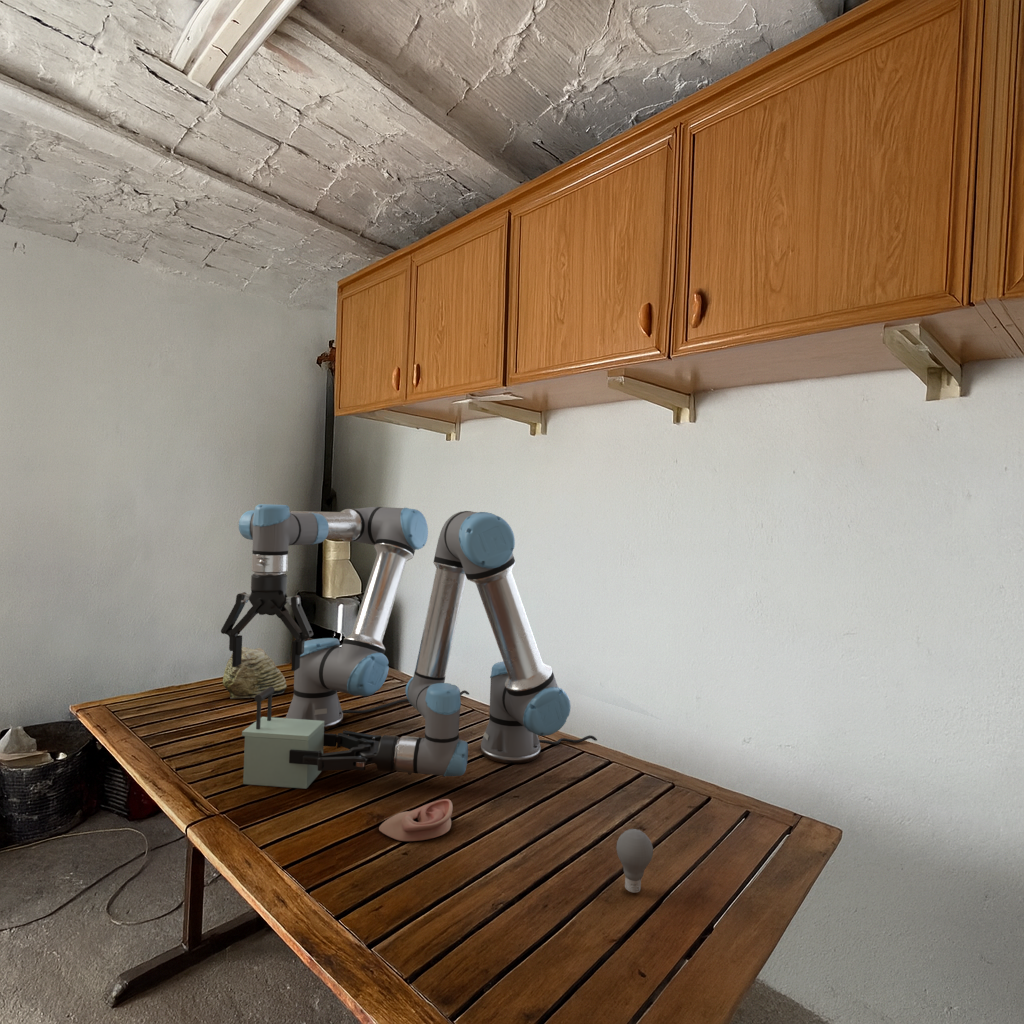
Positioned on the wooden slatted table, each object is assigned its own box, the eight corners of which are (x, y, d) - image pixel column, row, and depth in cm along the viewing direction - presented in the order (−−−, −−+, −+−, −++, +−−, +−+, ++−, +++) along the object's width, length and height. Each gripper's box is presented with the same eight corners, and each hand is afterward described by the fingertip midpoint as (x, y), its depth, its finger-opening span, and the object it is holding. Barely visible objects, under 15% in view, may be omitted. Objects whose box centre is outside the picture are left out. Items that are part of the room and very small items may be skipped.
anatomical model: (372, 815, 119) (396, 788, 130) (371, 836, 119) (395, 808, 130) (440, 826, 116) (458, 797, 127) (439, 847, 116) (457, 817, 127)
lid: (241, 736, 138) (243, 696, 138) (262, 721, 147) (263, 683, 147) (308, 740, 137) (309, 700, 137) (324, 725, 146) (325, 687, 146)
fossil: (218, 695, 195) (220, 647, 195) (278, 685, 208) (279, 640, 207) (228, 703, 189) (230, 653, 188) (289, 692, 201) (290, 645, 201)
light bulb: (610, 879, 108) (613, 822, 108) (644, 879, 109) (647, 822, 109) (619, 902, 102) (622, 840, 102) (655, 901, 103) (658, 840, 103)
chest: (243, 784, 138) (244, 736, 138) (263, 765, 148) (264, 721, 147) (306, 788, 137) (308, 740, 137) (322, 770, 147) (324, 725, 146)
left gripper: (206, 572, 139) (203, 668, 139) (317, 577, 137) (313, 675, 138) (224, 568, 146) (221, 659, 147) (329, 574, 145) (326, 666, 145)
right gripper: (383, 793, 129) (277, 785, 131) (408, 751, 152) (317, 744, 153) (385, 757, 129) (278, 749, 131) (409, 720, 152) (318, 713, 153)
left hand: (266, 667), depth 142 cm, fingers open, 13 cm apart
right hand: (299, 747), depth 142 cm, fingers closed on chest, 10 cm apart
